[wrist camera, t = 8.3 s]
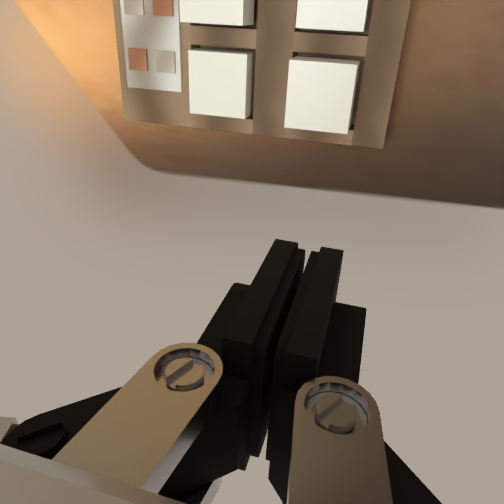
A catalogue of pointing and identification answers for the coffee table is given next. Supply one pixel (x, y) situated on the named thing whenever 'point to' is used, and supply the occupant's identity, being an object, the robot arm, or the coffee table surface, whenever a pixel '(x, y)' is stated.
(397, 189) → the coffee table surface
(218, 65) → the button
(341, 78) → the button
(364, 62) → the button board
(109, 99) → the coffee table surface
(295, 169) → the coffee table surface
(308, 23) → the button
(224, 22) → the button
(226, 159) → the coffee table surface
